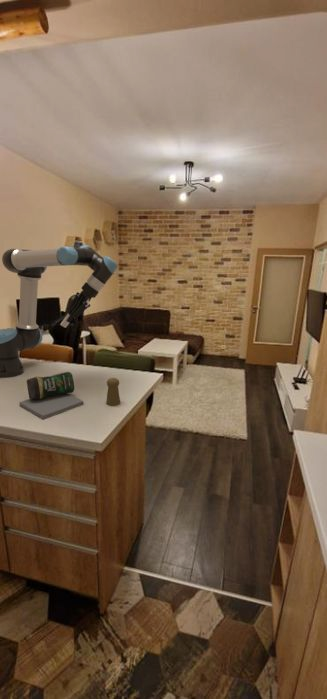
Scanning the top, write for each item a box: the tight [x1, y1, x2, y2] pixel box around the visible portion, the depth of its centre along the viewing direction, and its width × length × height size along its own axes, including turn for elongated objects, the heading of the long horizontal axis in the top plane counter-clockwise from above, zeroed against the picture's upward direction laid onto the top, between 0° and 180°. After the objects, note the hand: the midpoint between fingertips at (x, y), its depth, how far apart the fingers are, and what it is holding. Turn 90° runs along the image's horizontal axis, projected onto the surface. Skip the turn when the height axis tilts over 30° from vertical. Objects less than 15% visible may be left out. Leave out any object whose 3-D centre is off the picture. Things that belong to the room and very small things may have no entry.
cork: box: [105, 377, 121, 407], centre depth 131 cm, size 6×6×11 cm
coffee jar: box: [26, 371, 75, 400], centre depth 133 cm, size 10×8×19 cm
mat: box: [18, 393, 85, 420], centre depth 128 cm, size 18×18×2 cm
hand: (62, 325), depth 146 cm, fingers closed
